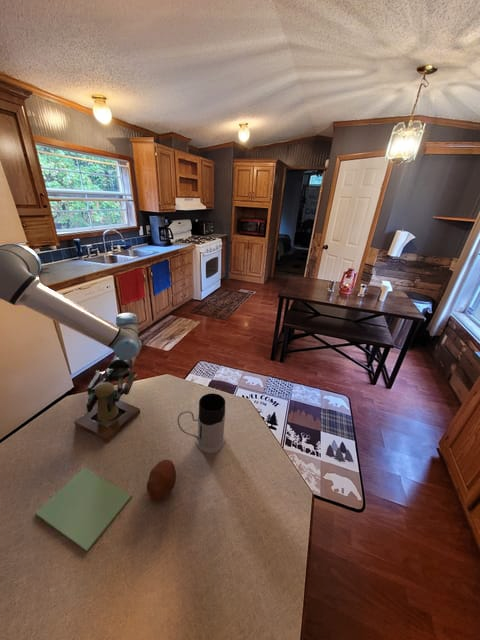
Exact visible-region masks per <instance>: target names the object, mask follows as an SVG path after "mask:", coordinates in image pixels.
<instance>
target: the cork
mask: <svg viewBox="0 0 480 640" xmlns="http://www.w3.org/2000/svg"><path fill="white" fill-rule="evenodd" d="M114 390H115V387H114V385H113V383H112V382H111V383H108V382H104V383H101V384H99V385H97V386H96V388H95V395H96V396H97V397H98V400H97V405H98V407H97V417H98V419H97V420H99V421H103V422H104V421H110V420H112V419H115V418H116V417H117V416H118V414H119V412H118V408H117V405H116V402H115V404H114V406H113V408H112V410H111V412H108V408H107V404H108V402H109V400H110V398H111V396H112V394H113V392H114Z"/></svg>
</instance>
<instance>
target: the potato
mask: <svg viewBox="0 0 480 640" xmlns="http://www.w3.org/2000/svg"><path fill="white" fill-rule="evenodd" d="M176 482H177V470H176V466H175V464H174V462H173V460H170V459H168V458H167V459H162V460H160V461H159V462H158V463H157V464H156V465H155V466H154V467H153V468H152V469H151V470H150V472H149V475H148V480H147V482H146V491H147V495H148V498H149V499H150V500H151V501H152V502H154V503H158V502H159V503H160V502H161V501H163V500H165V498H167V497H168V496H169V495H170V494H171V493H172V491H173V489H174V487H175V485H176Z"/></svg>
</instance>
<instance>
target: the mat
mask: <svg viewBox="0 0 480 640" xmlns="http://www.w3.org/2000/svg"><path fill="white" fill-rule="evenodd" d="M132 497H133V495H132V494H131V493H129V492H127V491H126V490H124V489H122V488H121V487H118V486H117V485H116V484H113V483H112V482H110V481H108V480H107V479H105V478H104V477H101V476H100V475H98V474H97V473H94V472H92V471H91V470H89V469H87V468H85V467H83V468H82V469H81V470H80V471H79V472H78V473H76V475H75V476H74V477H73V478H72V479H70V480H69V481H68V482H67V483H65V485H64V486H63V487H62V488H60V489H59V491H57V492H56V493H55V494H54V495H53V496H51V498H49V499H48V500H47V501H46V502H45V503H44V504H43V505H42V506H41V507H40V508H39V509H37V510H36V512H34V514H35V516H37V517H38V518H40V520H42V521H44V522H45V523H46V524H47V525H49V526H51V527H52V528H53V529H55V530H56V531H57V532H58V533H60V534H61V535H63V536H64V537H66V538H67V539H68V540H70V541H71V542H72V543H73V544H75V545H77V546H78V547H79V548H81V549H82V550H83V551H85V552H86V553H88V552H89V551H90V550H91V548H92V547H93V546H94V544H95V543H96V542H97V541H98V539H99V538H100V537H102V535H103V534H104V532H105V531H106V529H108V527H109V526H110V524H111V523H112V522H113V521H114V520H115V518H116V517H117V516H118V515H119V513H120V512H121V510H123V508H124V507H125V506H126V505H127V503H128V502H129V501H130V500H131V499H132Z"/></svg>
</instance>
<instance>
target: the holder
mask: <svg viewBox="0 0 480 640" xmlns="http://www.w3.org/2000/svg"><path fill="white" fill-rule="evenodd" d="M116 405H117V408H118V414H120V416H119V417H117V419H115V420H114V421H113V422H112V423H111V424H109V425H108V426H106V425H104V424H101V423H99V422H98V421H97V420H99V419H98V417H97V407H98V404H97V405H94V407H93V409H92V410H91V412H88V411H86V412H85V413H84V414H82V415H81V416H80V417H79V418H77V419H76V420H74V421H73V423H74V427H75V428H76V429H79V430H81V431H82V432H85V433H87V434H89V435H90V436H92V437H94V438H96V439H98V440H99V441H102V442H103V443H104V442H105V443H106V444H109V443H110V442H111V441H112V440H113V439H115V437H116V436H117V435H119V434H120V433H121V432H122V431H123V430H124V429H125V428H126V427H127V426H128V425H130V424H131V423H132V422H133V421H134V420H135V419H136V418H137V417H138V416H140V415H141V408H140V407H137V406H135V405H133V404H130V403H128V402H126V401H123V400H121V399H119V401H118V402H116Z"/></svg>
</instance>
